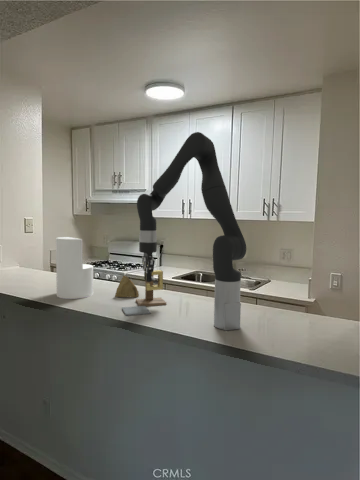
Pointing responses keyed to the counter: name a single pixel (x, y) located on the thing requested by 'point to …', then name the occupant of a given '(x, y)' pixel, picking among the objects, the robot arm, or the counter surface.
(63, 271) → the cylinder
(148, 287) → the c link
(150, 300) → the hook stand
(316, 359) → the counter surface
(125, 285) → the rock
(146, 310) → the slate mat
